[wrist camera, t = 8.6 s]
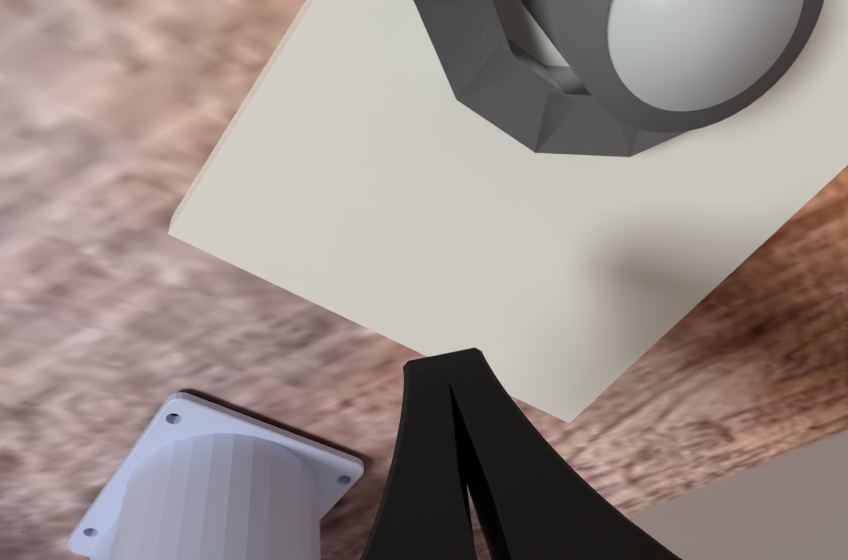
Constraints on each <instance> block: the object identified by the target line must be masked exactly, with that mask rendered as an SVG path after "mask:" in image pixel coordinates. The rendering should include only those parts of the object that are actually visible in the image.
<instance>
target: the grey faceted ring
mask: <svg viewBox="0 0 848 560" xmlns="http://www.w3.org/2000/svg"><path fill="white" fill-rule="evenodd" d="M413 1H414V3H415V5H416V8H417V10H418V12H419V14H420V17H421V19H422V21H423V24H424V26H425V28H426V31H427V33H428V35H429V37H430V40H431V42H432V44H433V47H434V49H435V51H436V54H437V56H438V58H439V60H440V63H441V65H442V67H443V70H444V72H445V75H446V77H447V79H448V82H449V84H450V86H451V89H452V91H453V93H454V96H455V98H456V100H457V101H459V102H460V103H462V104H463V105H465V106H466V107H468V108H469V109H471V110H472V111H474V112H475V113H477V114H478V115H480V116H481V117H483V118H484V119H486V120H487V121H489V122H490V123H492V124H493V125H495V126H496V127H498V128H499V129H500V130H502V131H503V132H505V133H506V134H508V135H509V136H511V137H512V138H514V139H515V140H517V141H518V142H520V143H521V144H523V145H524V146H526V147H527V148H529V149H530V150H532V151H533V152H535V153H549V154H571V155H593V156H615V157H631V156H634V155H636V154H638V153H641V152H643V151H645V150H647V149H650V148H652V147H654V146H656V145H659V144H661V143H663V142H665V141H668V140H670V139H672V138H675V137H677V136H679V135H681V134H684V133H686V132H688V131H684V132H675V133H659V132H652V131H645V130H642V129H638V128H635V127H632V126H629V125H627V124H625V123H623V122H621V121H619V120H617V119H616V118H614V117H613V116H611V115H610V114H608V113H607V112H606V111H605V110H604V109H603V108H602V107H601V106H600V105H599V104H598V103H597V102H596V101H595V99H594V98H593V97H592V95H591V94H590V93H589V92H588V90H587V89H586V88H585V86H584V85H583V84H582V82H581V81H580V80H579V78H578V77H577V76H576V74H575V73H574V72H573V70H572V69H571V68H570V67H566V66H551V65H543V64H542V63H540V62H539V61H538V60H536V59H535V58H534V57H532V56H531V55H530V54H528V53H527V52H526V51H524V50H523V49H522V48H520V47H519V46H518V45H516V44H515V43H514V42H512V41H511V40H509V39H508V38H507V37H506V36H505V33H504V31H503V28H502V25H501V23H500V20H499V17H498V14H497V12H496V9H495V6H494V4H493V1H492V0H413Z"/></svg>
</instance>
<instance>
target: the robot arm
mask: <svg viewBox="0 0 848 560" xmlns="http://www.w3.org/2000/svg"><path fill="white" fill-rule="evenodd" d="M403 371H404V392H403V403H402V411H401V418H400V424H399V430H398V435H397V440H396V445H395V450H394V455H393V459H392V463H391V467H390V471H389V475H388V478H387V482H386V486H385V489H384V493H383V497H382V500H381V503H380V506H379V510H378V513H377V516H376V519H375V522H374V525H373V527H372V530H371V533H370V536H369V538H368V541H367V544H366V546H365V549H364V551H363V554H362V556H361V559H360V560H477V556H476V552H475V547H474V539H473V531H472V523H471V515H470V507H469V499H468V491H467V486H468V489H469V492H470V495H471V498H472V501H473V504H474V507H475V510H476V513H477V516H478V519H479V522H480V525H481V528H482V531H483V534H484V537H485V541H486V544H487V547H488V550H489V553H490V556H491V559H492V560H682V559H681V558H679V557H678V556H676V555H675V554H673V553H672V552H671V551H669V550H668V549H667V548H665V547H664V546H663V545H661V544H660V543H659V542H657V541H656V540H655V539H654V538H652V537H651V536H650V535H648V534H647V533H646V532H644V531H643V530H642V529H640V528H639V527H638V526H636V525H635V524H634V523H633V522H631V521H630V520H629V519H627V518H626V517H625V516H624V515H623V514H622V513H620V512H619V511H618V510H617V509H616V508H615V507H613V506H612V505H611V504H610V503H609V502H608V501H606V500H605V499H604V498H603V497H602V496H601V495H600V494H599V493H597V492H596V491H595V490H594V489H593V488H592V487H591V486H590V485H589V484H588V483H587V482H586V481H584V480H583V479H582V478H581V477H580V476H579V475H578V474H577V473H576V472H575V471H574V470H573V469H572V468H571V467H570V466H569V465H568V464H567V463H566V462H565V461H564V459H563V458H562V457H561V456H560V455H559V454H558V453H557V452H556V451H555V450H554V449H553V448H552V447H551V446H550V445H549V443H548V442H547V441H546V440H545V439H544V438H543V437H542V435H541V434H540V433H539V432H538V431H537V430H536V428H535V427H534V426H533V425H532V424H531V422H530V421H529V420H528V419H527V417H526V416H525V415H524V414H523V413H522V411H521V410H520V409H519V408H518V406H517V405H516V404H515V402H514V401H513V400H512V398H511V397H510V396H509V394H508V393H507V392H506V390H505V389H504V387H503V386H502V384H501V383H500V382H499V380H498V379H497V377H496V376H495V374H494V372H493V371H492V369H491V368H490V366H489V364H488V362H487V361H486V359H485V357H484V355H483V353H482V351H481V350H479V349H477V348H470V349H465V350H460V351H455V352H450V353H445V354H440V355H435V356H430V357H425V358H420V359H415V360H411V361H408V362H407V363H406V364H405V365H404V367H403ZM172 413H174V414H178V415H179V416H172V415H170V414H172ZM363 473H364V465H363V462H362V460H361V459H359V458H357V457H355V456H352V455H349V454H347V453H344V452H341V451H339V450H336V449H333V448H331V447H328V446H325V445H323V444H320V443H318V442H315V441H312V440H310V439H307V438H304V437H302V436H299V435H296V434H294V433H291V432H289V431H286V430H283V429H281V428H278V427H275V426H273V425H270V424H267V423H265V422H262V421H260V420H257V419H254V418H252V417H249V416H246V415H244V414H241V413H238V412H236V411H233V410H231V409H228V408H225V407H223V406H220V405H217V404H215V403H212V402H209V401H207V400H204V399H202V398H199V397H196V396H194V395H191V394H188V393H184V392H177V393H174V394H171V395H170V396H169V397H168V398H167V399H166V401H165V402H164V404H163V405H162V407H161V408H160V409H159V411H158V412H157V414H156V415H155V416H154V418H153V419H152V421H151V422H150V423H149V425H148V426H147V428H146V429H145V430H144V432H143V433H142V435H141V436H140V437H139V439H138V440H137V442H136V443H135V444H134V446H133V447H132V449H131V450H130V451H129V453H128V454H127V456H126V457H125V458H124V460H123V461H122V463H121V464H120V466H119V467H118V468H117V470H116V471H115V473H114V474H113V475H112V477H111V478H110V480H109V481H108V482H107V484H106V485H105V487H104V488H103V489H102V491H101V492H100V494H99V495H98V496H97V498H96V499H95V501H94V502H93V503H92V505H91V506H90V508H89V509H88V510H87V512H86V513H85V515H84V516H83V518H82V519H81V520H80V522H79V523H78V525H77V526H76V527H75V529H74V530H73V532H72V533H71V534H70V536H69V539H68V542H67V548H68V549H69V550H70V551H71V552H73V553H76V554H80V555H84V556H88V557H90V559H89V560H321V547H320V520H321V519H322V518H323V517H324V515H325V514H326V513H327V512H328V511H329V510H330V509H331V508H332V507H333V506H334V505H335V504H336V503H337V502H338V501H339V499H340V498H341V497H342V496H343V495H344V494H345V493H346V492H347V491H348V490H349V489H350V488H351V487H352V486H353V485H354V483H355V482H356V481H357V480H358V479H359V478H360V477H361V476H362V475H363ZM341 476H345V477H341Z"/></svg>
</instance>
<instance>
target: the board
mask: <svg viewBox="0 0 848 560" xmlns="http://www.w3.org/2000/svg"><path fill="white" fill-rule="evenodd" d="M492 1H493V4H494V6H495V9H496V12H497V14H498V17H499V20H500V23H501V25H502V28H503V31H504V33H505V36H506V37H507V38H508V39H509V40H511V41H512V42H514V43H515V44H516V45H518V46H519V47H520V48H522V49H523V50H524V51H526V52H527V53H528V54H530V55H531V56H532V57H534V58H535V59H536V60H538V61H539V62H540V63H542V64H543V65H551V66H566V67H570V66H569V65H568V64H567V62H566V61H565V60H564V58H563V57H562V56H561V54H560V53H559V52H558V50H557V49H556V48H555V46H554V45H553V44H552V42H551V41H550V40H549V38H548V37H547V36H546V35H545V33H544V32H543V31H542V29H541V28H540V27H539V25H538V24H537V23H536V21H535V20H534V19H533V17H532V16H531V15H530V13H529V12H528V11H527V9H526V8H525V7H524V5H523V4H522V2H521V0H492ZM847 165H848V0H824V2H823V6H822V10H821V13H820V15H819V18H818V20H817V23H816V26H815V28H814V30H813V32H812V34H811V36H810V38H809V40H808V42H807V44H806V45H805V47H804V48H803V50H802V51H801V53H800V55H799V56H798V58H797V59H796V60H795V62H794V63H793V64H792V66H791V67H790V68H789V69H788V71H787V72H786V73H785V74H784V75H783V76H782V77H781V78H780V80H779V81H778V82H777V83H776V84H775V85H774V86H773V87H772V88H770V89H769V90H768V91H767V92H766V93H765V94H764V95H763V96H761V97H760V98H759V99H757V100H756V101H755V102H753V103H752V104H751V105H749V106H748V107H746V108H745V109H743V110H741V111H740V112H738V113H736V114H735V115H733V116H731V117H729V118H726V119H724V120H722V121H720V122H718V123H715V124H712V125H709V126H706V127H703V128H699V129H695V130H691V131H688V132H686V133H684V134H681V135H679V136H677V137H675V138H672V139H670V140H668V141H665V142H663V143H661V144H659V145H656V146H654V147H652V148H650V149H647V150H645V151H643V152H641V153H638V154H636V155H634V156H631V157H615V156H593V155H571V154H549V153H535V152H533V151H532V150H530V149H529V148H527V147H526V146H524V145H523V144H521V143H520V142H518V141H517V140H515V139H514V138H512V137H511V136H509V135H508V134H506V133H505V132H503V131H502V130H500V129H499V128H498V127H496V126H495V125H493V124H492V123H490V122H489V121H487V120H486V119H484V118H483V117H481V116H480V115H478V114H477V113H475V112H474V111H472V110H471V109H469V108H468V107H466V106H465V105H463V104H462V103H460V102H459V101H457V100H456V98H455V96H454V93H453V91H452V89H451V86H450V84H449V82H448V79H447V77H446V75H445V72H444V70H443V67H442V65H441V63H440V60H439V58H438V56H437V54H436V51H435V49H434V47H433V44H432V42H431V40H430V37H429V35H428V33H427V31H426V28H425V26H424V24H423V21H422V19H421V17H420V14H419V12H418V10H417V8H416V5H415V3H414V1H413V0H306V1H305V3H304V4H303V6H302V8H301V9H300V11H299V12H298V14H297V16H296V17H295V19H294V21H293V22H292V24H291V25H290V27H289V29H288V30H287V32H286V33H285V35H284V37H283V38H282V40H281V42H280V43H279V45H278V46H277V48H276V50H275V51H274V53H273V54H272V56H271V58H270V59H269V61H268V63H267V64H266V66H265V67H264V69H263V71H262V72H261V74H260V75H259V77H258V79H257V80H256V82H255V83H254V85H253V87H252V88H251V90H250V92H249V93H248V95H247V96H246V98H245V100H244V101H243V103H242V104H241V106H240V108H239V109H238V111H237V113H236V114H235V116H234V117H233V119H232V121H231V122H230V124H229V125H228V127H227V129H226V130H225V132H224V133H223V135H222V137H221V138H220V140H219V142H218V143H217V145H216V146H215V148H214V150H213V151H212V153H211V154H210V156H209V158H208V159H207V161H206V163H205V164H204V166H203V167H202V169H201V171H200V172H199V174H198V175H197V177H196V179H195V180H194V182H193V184H192V185H191V187H190V188H189V190H188V192H187V193H186V195H185V196H184V198H183V200H182V201H181V203H180V204H179V206H178V208H177V209H176V211H175V213H174V214H173V216H172V220H171V223H170V227H169V231H168V234H169V235H171V236H173V237H176V238H178V239H180V240H182V241H184V242H186V243H188V244H190V245H193V246H195V247H197V248H199V249H201V250H203V251H205V252H207V253H210V254H212V255H214V256H216V257H218V258H220V259H222V260H224V261H226V262H229V263H231V264H233V265H235V266H237V267H239V268H241V269H243V270H246V271H248V272H250V273H252V274H254V275H256V276H258V277H260V278H262V279H265V280H267V281H269V282H271V283H273V284H275V285H277V286H279V287H282V288H284V289H286V290H288V291H290V292H292V293H294V294H296V295H299V296H301V297H303V298H305V299H307V300H309V301H311V302H313V303H315V304H318V305H320V306H322V307H324V308H326V309H328V310H330V311H332V312H335V313H337V314H339V315H341V316H343V317H345V318H347V319H349V320H351V321H354V322H356V323H358V324H360V325H362V326H364V327H366V328H368V329H371V330H373V331H375V332H377V333H379V334H381V335H383V336H385V337H388V338H390V339H392V340H394V341H396V342H398V343H400V344H402V345H404V346H407V347H409V348H411V349H413V350H415V351H417V352H419V353H421V354H424V355H426V356H428V357H430V356H435V355H440V354H445V353H450V352H455V351H460V350H465V349H470V348H477V349H479V350H481V351H482V353H483V355H484V357H485V359H486V361H487V362H488V364H489V366H490V368H491V369H492V371H493V372H494V374H495V376H496V377H497V379H498V380H499V382H500V383H501V384H502V386H503V387H504V389H505V390H506V392H507V393H508V394H509V395H510V396H513V397H515V398H517V399H519V400H521V401H523V402H525V403H527V404H529V405H532V406H534V407H536V408H538V409H540V410H542V411H544V412H546V413H549V414H551V415H553V416H555V417H557V418H559V419H561V420H563V421H566V422H568V423H570V422H571V421H572V420H574V419H575V418H576V417H577V416H578V415H579V414H580V413H581V412H582V411H583V410H584V409H585V408H586V407H588V406H589V405H590V404H591V403H592V402H593V401H594V400H595V399H596V398H597V397H598V396H599V395H600V394H602V393H603V392H604V391H605V390H606V389H607V388H608V387H609V386H610V385H611V384H612V383H613V382H614V381H616V380H617V379H618V378H619V377H620V376H621V375H622V374H623V373H624V372H625V371H626V370H627V369H628V368H630V367H631V366H632V365H633V364H634V363H635V362H636V361H637V360H638V359H639V358H640V357H641V356H642V355H644V354H645V353H646V352H647V351H648V350H649V349H650V348H651V347H652V346H653V345H654V344H655V343H656V342H658V341H659V340H660V339H661V338H662V337H663V336H664V335H665V334H666V333H667V332H668V331H669V330H670V329H671V328H673V327H674V326H675V325H676V324H677V323H678V322H679V321H680V320H681V319H682V318H683V317H684V316H685V315H687V314H688V313H689V312H690V311H691V310H692V309H693V308H694V307H695V306H696V305H697V304H698V303H699V302H701V301H702V300H703V299H704V298H705V297H706V296H707V295H708V294H709V293H710V292H711V291H712V290H713V289H715V288H716V287H717V286H718V285H719V284H720V283H721V282H722V281H723V280H724V279H725V278H726V277H727V276H729V275H730V274H731V273H732V272H733V271H734V270H735V269H736V268H737V267H738V266H739V265H740V264H741V263H743V262H744V261H745V260H746V259H747V258H748V257H749V256H750V255H751V254H752V253H753V252H754V251H755V250H757V249H758V248H759V247H760V246H761V245H762V244H763V243H764V242H765V241H766V240H767V239H768V238H769V237H771V236H772V235H773V234H774V233H775V232H776V231H777V230H778V229H779V228H780V227H781V226H782V225H783V224H784V223H786V222H787V221H788V220H789V219H790V218H791V217H792V216H793V215H794V214H795V213H796V212H797V211H798V210H800V209H801V208H802V207H803V206H804V205H805V204H806V203H807V202H808V201H809V200H810V199H811V198H812V197H814V196H815V195H816V194H817V193H818V192H819V191H820V190H821V189H822V188H823V187H824V186H825V185H826V184H828V183H829V182H830V181H831V180H832V179H833V178H834V177H835V176H836V175H837V174H838V173H839V172H840V171H842V170H843V169H844V168H845V167H846V166H847Z"/></svg>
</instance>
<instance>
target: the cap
mask: <svg viewBox="0 0 848 560" xmlns="http://www.w3.org/2000/svg"><path fill="white" fill-rule="evenodd" d="M521 2H522V4H523V5H524V7H525V8H526V9H527V11H528V12H529V13H530V15H531V16H532V17H533V19H534V20H535V21H536V23H537V24H538V25H539V27H540V28H541V29H542V31H543V32H544V33H545V35H546V36H547V37H548V38H549V40H550V41H551V42H552V44H553V45H554V46H555V48H556V49H557V50H558V52H559V53H560V54H561V56H562V57H563V58H564V60H565V61H566V62H567V64H568V65H569V66H570V68H571V69H572V70H573V72H574V73H575V74H576V76H577V77H578V78H579V80H580V81H581V82H582V84H583V85H584V86H585V88H586V89H587V90H588V92H589V93H590V94H591V95H592V97H593V98H594V99H595V101H596V102H597V103H598V104H599V105H600V106H601V107H602V108H603V109H604V110H605V111H606V112H607V113H608V114H610V115H611V116H613V117H614V118H616V119H617V120H619V121H621V122H623V123H625V124H627V125H629V126H632V127H635V128H638V129H642V130H645V131H652V132H659V133H675V132H684V131H691V130H695V129H699V128H703V127H706V126H709V125H712V124H715V123H718V122H720V121H722V120H724V119H726V118H729V117H731V116H733V115H735V114H736V113H738V112H740V111H741V110H743V109H745V108H746V107H748V106H749V105H751V104H752V103H753V102H755V101H756V100H757V99H759V98H760V97H761V96H763V95H764V94H765V93H766V92H767V91H768V90H769V89H770V88H772V87H773V86H774V85H775V84H776V83H777V82H778V81H779V80H780V78H781V77H782V76H783V75H784V74H785V73H786V72H787V71H788V69H789V68H790V67H791V66H792V64H793V63H794V62H795V60H796V59H797V58H798V56H799V55H800V53H801V51H802V50H803V48H804V47H805V45H806V44H807V42H808V40H809V38H810V36H811V34H812V32H813V30H814V28H815V26H816V23H817V20H818V18H819V15H820V13H821V10H822V6H823V2H824V0H521Z"/></svg>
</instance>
